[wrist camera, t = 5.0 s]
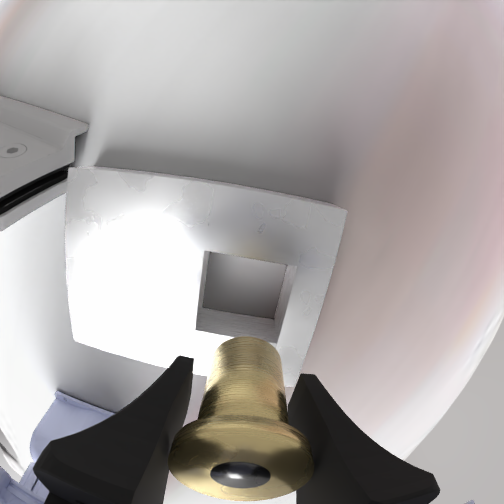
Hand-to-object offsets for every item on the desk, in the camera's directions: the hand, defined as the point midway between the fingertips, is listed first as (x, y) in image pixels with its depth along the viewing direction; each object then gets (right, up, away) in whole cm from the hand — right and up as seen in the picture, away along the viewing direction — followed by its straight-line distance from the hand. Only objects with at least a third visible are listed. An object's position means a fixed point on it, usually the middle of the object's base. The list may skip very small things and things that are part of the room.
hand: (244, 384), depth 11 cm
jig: (-4, +4, +8) cm, 10 cm away
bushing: (0, 0, +2) cm, 2 cm away
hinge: (-20, +14, +5) cm, 25 cm away
